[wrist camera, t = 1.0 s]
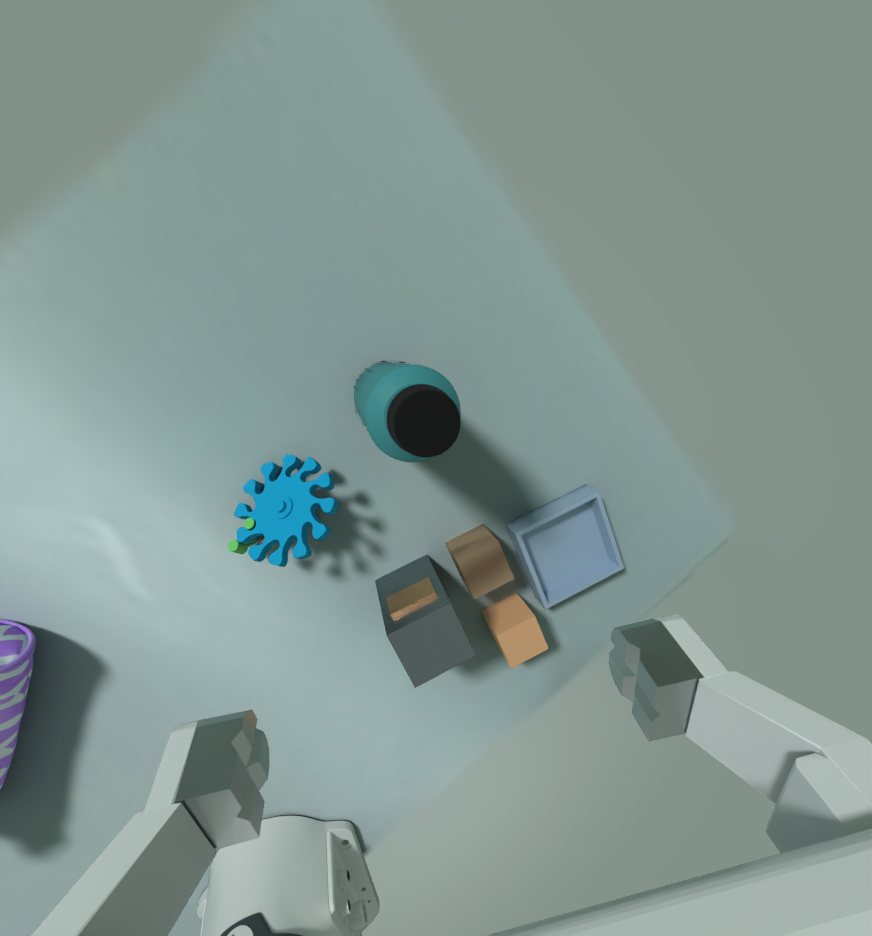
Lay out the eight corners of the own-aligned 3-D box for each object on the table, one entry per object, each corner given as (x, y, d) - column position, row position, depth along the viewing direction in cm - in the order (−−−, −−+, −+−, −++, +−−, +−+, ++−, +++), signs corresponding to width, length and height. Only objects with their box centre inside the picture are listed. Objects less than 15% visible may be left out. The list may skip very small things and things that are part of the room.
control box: (449, 601, 52) (477, 658, 42) (399, 627, 51) (416, 690, 42) (425, 551, 50) (448, 599, 40) (373, 577, 49) (384, 631, 40)
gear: (306, 431, 42) (347, 523, 38) (338, 454, 48) (377, 538, 43) (208, 496, 43) (236, 593, 39) (250, 512, 49) (279, 599, 44)
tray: (610, 558, 55) (624, 568, 53) (535, 597, 54) (545, 609, 52) (586, 484, 52) (599, 491, 49) (505, 524, 51) (514, 533, 48)
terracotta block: (529, 622, 55) (548, 648, 50) (495, 641, 54) (511, 668, 50) (516, 592, 53) (535, 615, 49) (481, 610, 53) (496, 636, 48)
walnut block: (497, 558, 52) (514, 579, 47) (460, 576, 51) (474, 599, 47) (482, 523, 50) (499, 541, 46) (445, 542, 50) (457, 562, 45)
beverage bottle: (363, 437, 45) (390, 500, 26) (340, 370, 43) (351, 385, 24) (427, 416, 46) (497, 463, 27) (407, 349, 44) (468, 349, 25)
